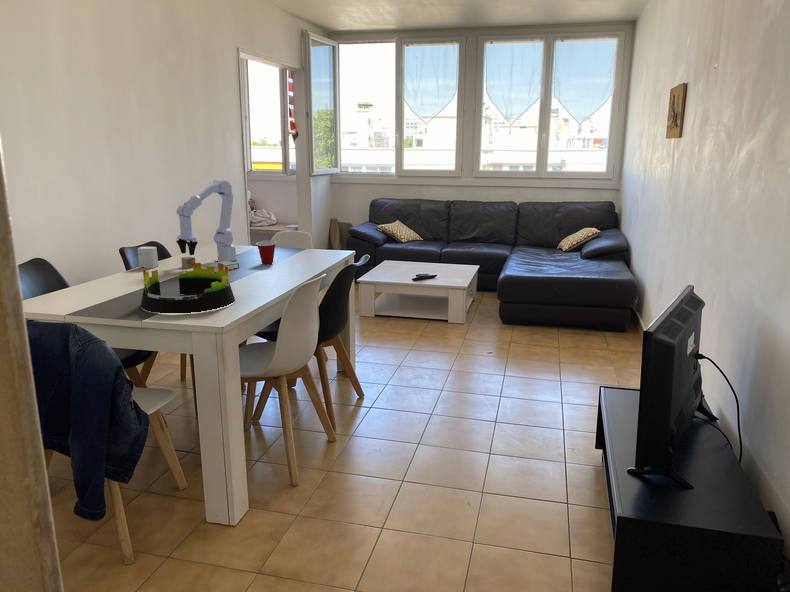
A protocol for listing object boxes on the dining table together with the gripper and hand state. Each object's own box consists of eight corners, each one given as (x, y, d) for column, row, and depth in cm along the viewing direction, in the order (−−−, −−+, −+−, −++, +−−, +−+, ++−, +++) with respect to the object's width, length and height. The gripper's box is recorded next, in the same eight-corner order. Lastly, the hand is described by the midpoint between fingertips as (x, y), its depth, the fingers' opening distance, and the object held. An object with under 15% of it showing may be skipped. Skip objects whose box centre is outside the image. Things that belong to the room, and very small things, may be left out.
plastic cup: (252, 264, 331) (251, 242, 329) (264, 261, 341) (263, 240, 338) (270, 266, 327) (269, 244, 325) (281, 263, 337) (280, 241, 334)
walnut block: (190, 265, 329) (189, 256, 327) (195, 266, 326) (195, 257, 324) (181, 267, 325) (181, 257, 324) (187, 268, 322) (186, 258, 321)
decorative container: (123, 315, 234) (119, 276, 231) (163, 292, 270) (160, 259, 266) (218, 317, 233) (216, 278, 229) (246, 294, 268) (244, 260, 265)
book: (225, 265, 330) (224, 260, 329) (239, 268, 323) (239, 263, 322) (199, 270, 318) (199, 264, 317) (213, 273, 311) (213, 267, 310)
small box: (158, 266, 326) (157, 246, 323) (153, 268, 321) (151, 248, 318) (144, 266, 327) (142, 246, 324) (139, 268, 321) (137, 248, 319)
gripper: (171, 227, 322) (173, 253, 325) (187, 230, 313) (189, 256, 316) (183, 226, 327) (184, 251, 330) (199, 228, 318) (200, 254, 321)
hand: (187, 254), depth 323 cm, fingers open, 7 cm apart
